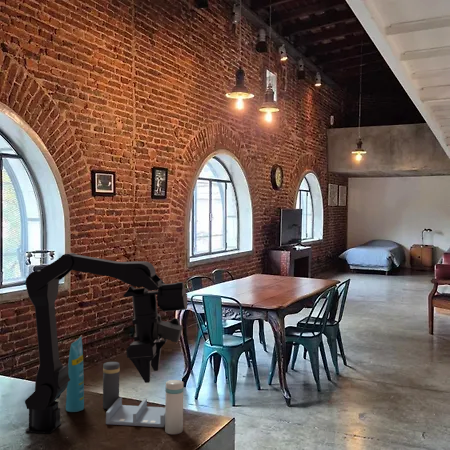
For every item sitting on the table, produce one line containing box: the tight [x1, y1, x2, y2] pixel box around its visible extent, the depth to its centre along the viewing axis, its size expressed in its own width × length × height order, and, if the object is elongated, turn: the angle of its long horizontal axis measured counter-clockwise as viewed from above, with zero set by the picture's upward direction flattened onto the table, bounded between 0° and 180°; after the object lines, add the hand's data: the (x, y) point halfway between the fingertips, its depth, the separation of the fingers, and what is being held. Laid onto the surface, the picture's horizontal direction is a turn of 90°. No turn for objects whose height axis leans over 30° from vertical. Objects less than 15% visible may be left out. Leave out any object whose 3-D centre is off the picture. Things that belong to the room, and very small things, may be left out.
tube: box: [65, 336, 85, 413], centre depth 137 cm, size 7×5×19 cm, turn 2°
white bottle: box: [164, 379, 185, 435], centre depth 124 cm, size 4×4×12 cm
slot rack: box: [105, 396, 165, 428], centre depth 132 cm, size 15×11×3 cm
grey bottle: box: [102, 361, 121, 411], centre depth 139 cm, size 4×4×12 cm
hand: (152, 376), depth 122 cm, fingers open, 9 cm apart
